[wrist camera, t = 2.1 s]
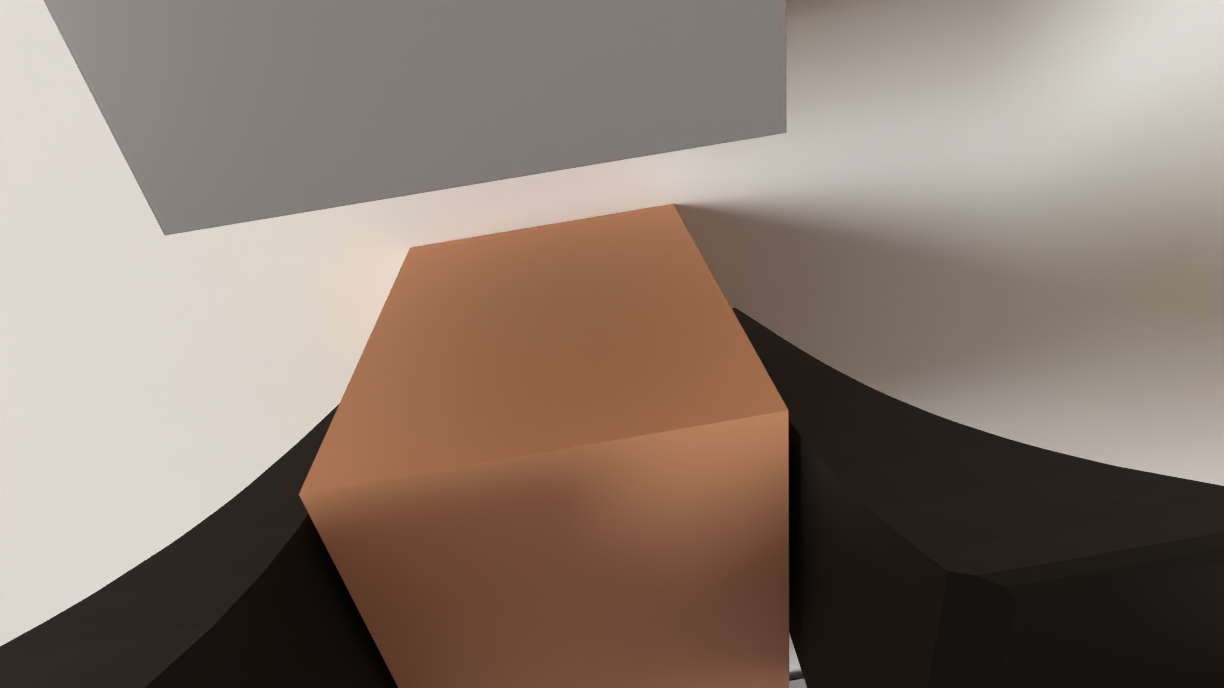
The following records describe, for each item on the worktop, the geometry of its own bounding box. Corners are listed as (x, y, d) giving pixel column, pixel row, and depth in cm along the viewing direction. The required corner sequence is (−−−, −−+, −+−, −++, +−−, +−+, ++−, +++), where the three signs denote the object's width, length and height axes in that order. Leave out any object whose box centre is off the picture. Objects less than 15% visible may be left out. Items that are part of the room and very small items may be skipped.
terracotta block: (693, 414, 13) (789, 697, 8) (475, 452, 13) (434, 759, 8) (673, 203, 11) (788, 409, 6) (410, 247, 11) (298, 494, 6)
